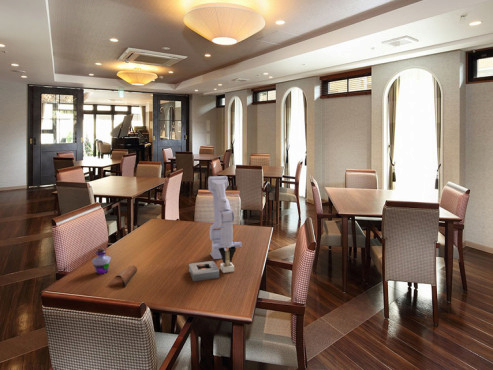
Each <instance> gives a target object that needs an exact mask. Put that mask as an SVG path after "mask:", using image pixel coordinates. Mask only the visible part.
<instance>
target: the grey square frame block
mask: <svg viewBox="0 0 493 370" xmlns="http://www.w3.org/2000/svg"><path fill="white" fill-rule="evenodd" d="M202 268H206V269H202ZM200 269H201V270H200ZM188 270H189V271H188V272H189V274H190V277H191V279H192V281H193V282H199V281H200V282H201V281H206V280H214V279H220V269H219V267H218V266H217V264H216V263H215V261H214V260H210V261H201V262H192V263H188Z"/></svg>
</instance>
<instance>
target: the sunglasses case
mask: <svg viewBox="0 0 493 370" xmlns="http://www.w3.org/2000/svg"><path fill="white" fill-rule="evenodd" d="M137 272H138V268H137V266H136V265H133V264H132V265H131V266H128V267H126V268H124V269H123V270H121V271H119V272H117V274H116V275H115V276H114V277H113V279H112V280H110V282H109V283H108V284H107V286H106V288H107V287H110V288H114V287H115V288H116V287H118V288H126V286H127V285H128V283H129V282H130V280H131V279H132V278H133V276H135V274H136V273H137Z"/></svg>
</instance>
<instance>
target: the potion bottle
mask: <svg viewBox="0 0 493 370" xmlns="http://www.w3.org/2000/svg"><path fill="white" fill-rule="evenodd" d="M96 250H97V251H96V252H95V255H96V256H97V257H93V259H91V263H92V266H93V267H94V269H95V273H97V274H96V275H98V274H102V275H105V274H104V273H106V274H108V273H109V267H110V264H111V259H112V257H111V256H108V255H106V254H107V251H106V249H105V248H104V247H99V248H97V249H96ZM107 272H108V273H107Z"/></svg>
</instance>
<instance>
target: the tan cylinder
mask: <svg viewBox="0 0 493 370" xmlns="http://www.w3.org/2000/svg"><path fill="white" fill-rule="evenodd" d="M227 266H230V251H229V249H226V250H225V263H224V267H227Z"/></svg>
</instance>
